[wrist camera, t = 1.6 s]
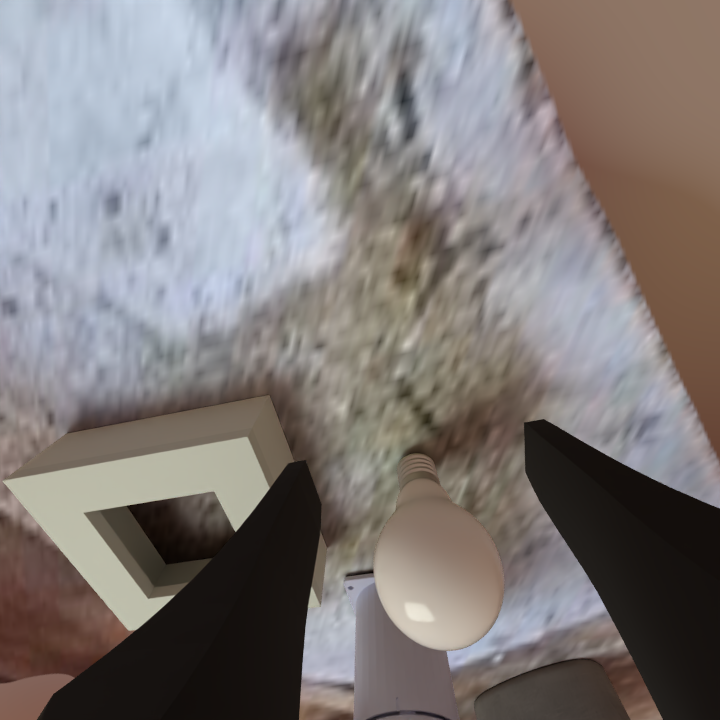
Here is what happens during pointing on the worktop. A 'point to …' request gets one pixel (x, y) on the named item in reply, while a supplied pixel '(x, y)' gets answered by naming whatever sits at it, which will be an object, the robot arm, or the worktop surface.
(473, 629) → the lightbulb
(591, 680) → the flask
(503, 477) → the worktop surface
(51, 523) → the square bulb holder
